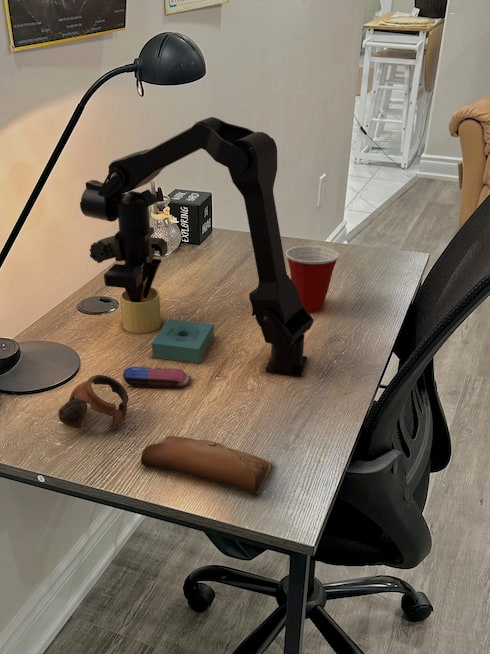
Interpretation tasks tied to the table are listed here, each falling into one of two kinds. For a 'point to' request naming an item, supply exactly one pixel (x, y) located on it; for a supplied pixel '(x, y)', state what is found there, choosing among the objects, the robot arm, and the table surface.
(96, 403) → the brown curved ring piece
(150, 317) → the tumbler
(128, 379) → the eraser
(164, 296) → the table surface
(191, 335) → the block
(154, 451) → the sunglasses case
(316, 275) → the plastic cup
